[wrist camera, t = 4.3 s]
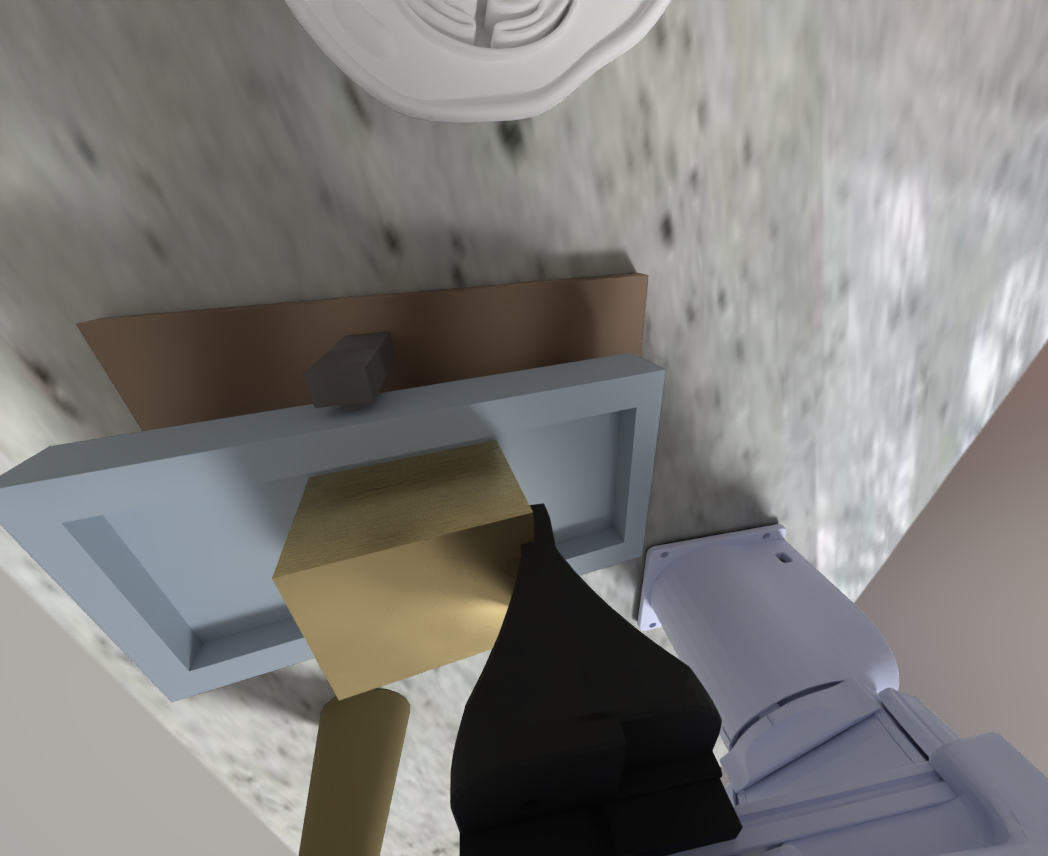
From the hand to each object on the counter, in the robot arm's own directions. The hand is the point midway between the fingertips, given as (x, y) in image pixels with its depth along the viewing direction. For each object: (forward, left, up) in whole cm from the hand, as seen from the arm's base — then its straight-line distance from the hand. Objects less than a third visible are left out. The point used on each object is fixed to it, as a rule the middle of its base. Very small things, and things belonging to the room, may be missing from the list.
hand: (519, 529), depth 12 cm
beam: (+4, 0, -3) cm, 4 cm away
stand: (+5, 0, -6) cm, 8 cm away
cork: (+12, +21, -7) cm, 25 cm away
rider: (+3, 0, -2) cm, 4 cm away
